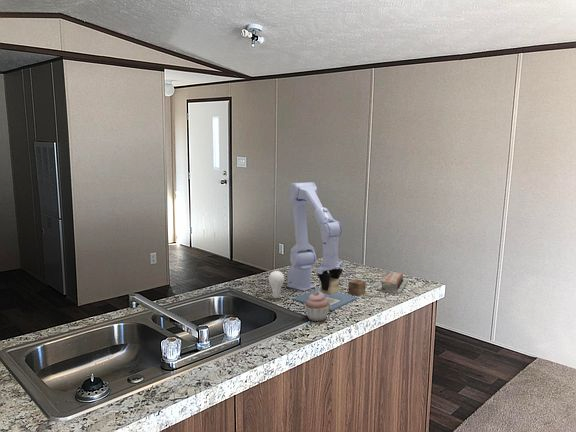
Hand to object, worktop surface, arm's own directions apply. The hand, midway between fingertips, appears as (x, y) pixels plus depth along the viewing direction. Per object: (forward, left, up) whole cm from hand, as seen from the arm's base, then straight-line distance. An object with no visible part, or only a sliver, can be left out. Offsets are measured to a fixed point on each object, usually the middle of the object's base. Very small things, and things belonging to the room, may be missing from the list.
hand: (329, 288), depth 182 cm
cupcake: (+6, -16, -6) cm, 18 cm away
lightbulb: (-18, -10, -6) cm, 21 cm away
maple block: (0, 0, -2) cm, 2 cm away
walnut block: (+2, +17, -6) cm, 18 cm away
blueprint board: (-3, +2, -6) cm, 7 cm away
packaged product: (+9, +36, -6) cm, 37 cm away
